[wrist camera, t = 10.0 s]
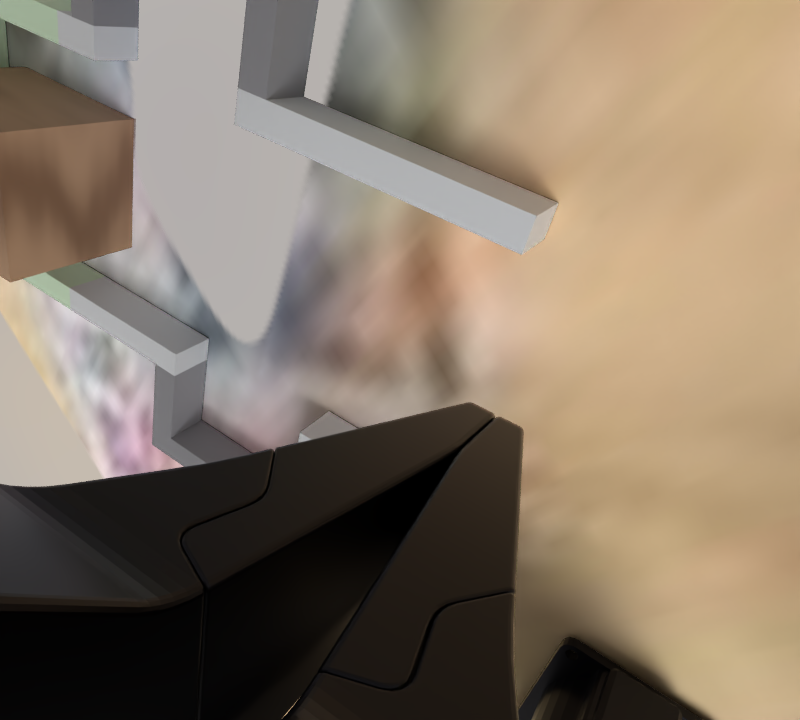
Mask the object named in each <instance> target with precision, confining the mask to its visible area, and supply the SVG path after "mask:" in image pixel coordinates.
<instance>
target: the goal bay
mask: <svg viewBox="0 0 800 720" xmlns="http://www.w3.org/2000/svg"><path fill="white" fill-rule="evenodd" d="M57 10H59V11H71V0H0V67H9V61H8V49H7V37H6V25H5V21H8V22H10V23H12V24H14V25H16V26H19V27H21V28H23V29H25V30H27V31H30V32H32V33H34V34H36V35H38V36H41V37H43V38H45V39H47V40H49V41H52V42H54V43H56V44H58V45H59V40H58V18H57ZM102 277H105V276H104V275H102V274H101V273H99V272H97V271H96V270H94V269H92V268H91V267H89V266H87V265H86V264H84V263H82V262H79V263H76V264H72V265H69V266H65V267H62V268H58V269H55V270H51V271H48V272H44V273H41V274H38V275H34V276H31V277H27V278H24V280H26V281H27V282H29V283H30V284H32V285H33V286H35V287H36V288H38V289H40V290H41V291H43V292H44V293H46V294H47V295H49V296H50V297H52V298H54V299H55V300H57V301H58V302H60V303H61V304H63V305H64V306H66V307H68V308H69V309H70V288H71V287H74V286H77V285H80V284H83V283H87V282H90V281H93V280H96V279H99V278H102Z"/></svg>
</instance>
